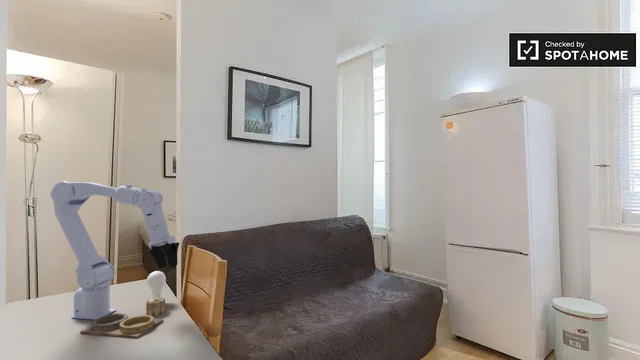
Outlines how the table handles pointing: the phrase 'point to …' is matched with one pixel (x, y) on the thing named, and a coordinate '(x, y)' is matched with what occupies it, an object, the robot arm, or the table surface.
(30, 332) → the table surface
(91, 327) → the gear board
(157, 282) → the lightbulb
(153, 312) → the gear
